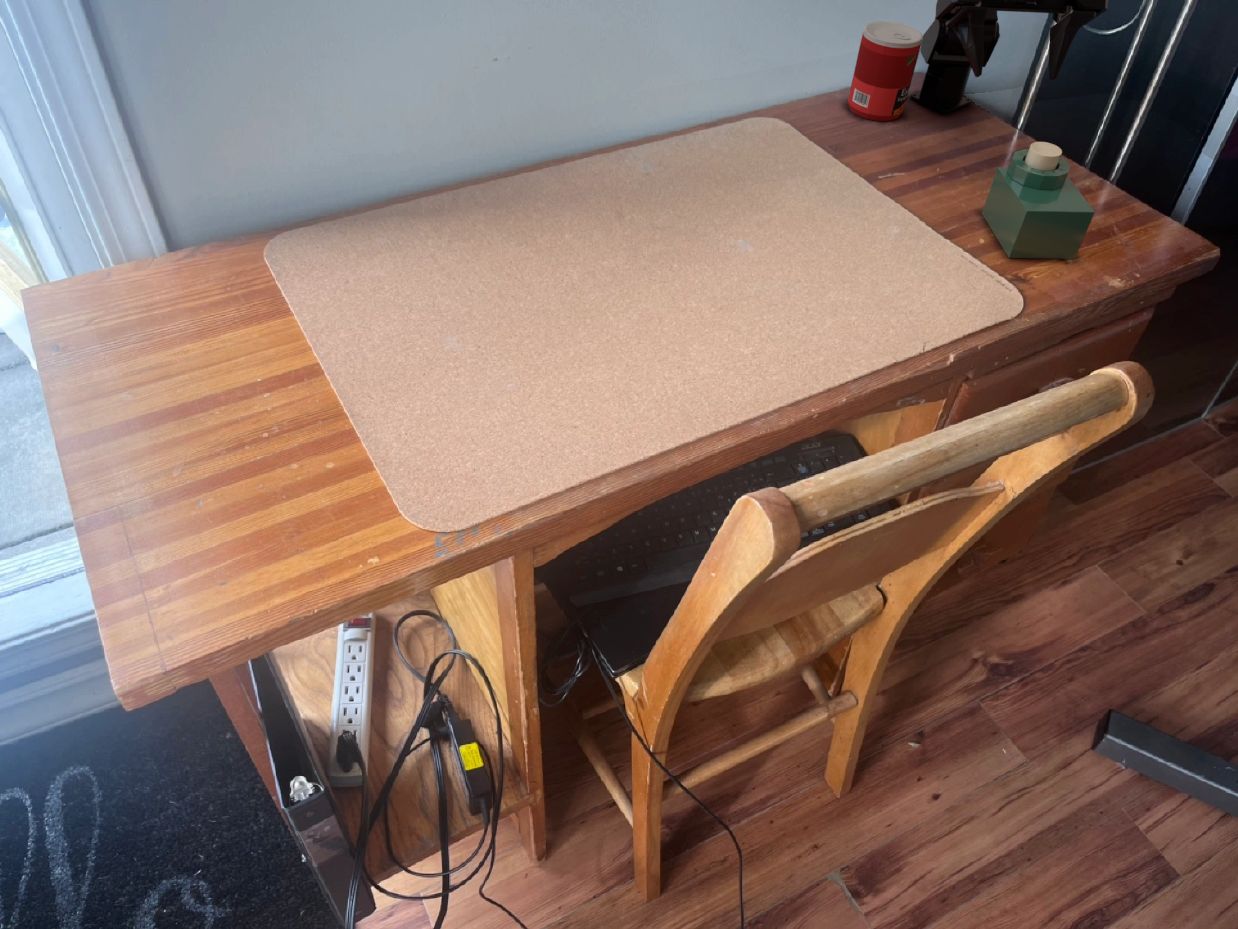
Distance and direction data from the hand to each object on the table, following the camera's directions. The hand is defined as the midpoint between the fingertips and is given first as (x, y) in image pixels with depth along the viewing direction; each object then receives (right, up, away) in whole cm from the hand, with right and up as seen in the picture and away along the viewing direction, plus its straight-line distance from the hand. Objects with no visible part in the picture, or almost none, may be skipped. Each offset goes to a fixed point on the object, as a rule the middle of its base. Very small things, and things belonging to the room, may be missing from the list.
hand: (1015, 77), depth 118 cm
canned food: (-11, +4, +23) cm, 26 cm away
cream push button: (+2, -11, -3) cm, 12 cm away
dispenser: (+1, -19, 0) cm, 19 cm away
